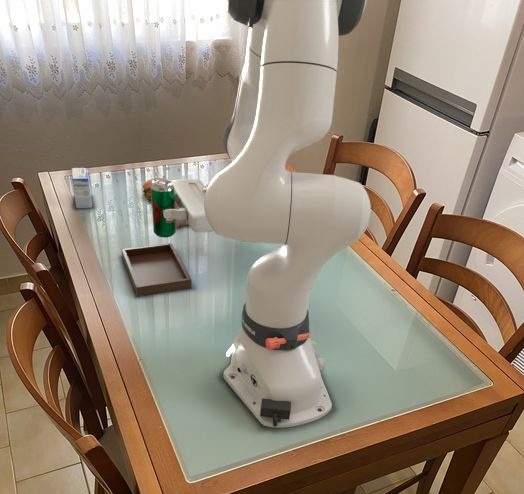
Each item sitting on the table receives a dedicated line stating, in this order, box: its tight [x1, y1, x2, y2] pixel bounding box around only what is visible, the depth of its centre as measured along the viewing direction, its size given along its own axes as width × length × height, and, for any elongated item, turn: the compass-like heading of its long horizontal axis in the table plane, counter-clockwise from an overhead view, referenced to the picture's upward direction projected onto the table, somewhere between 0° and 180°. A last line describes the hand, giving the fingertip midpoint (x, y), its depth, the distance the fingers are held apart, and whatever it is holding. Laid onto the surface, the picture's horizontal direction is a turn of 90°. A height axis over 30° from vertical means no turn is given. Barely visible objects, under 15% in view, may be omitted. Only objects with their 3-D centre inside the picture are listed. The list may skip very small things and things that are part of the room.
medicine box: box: [70, 167, 93, 209], centre depth 150 cm, size 8×4×9 cm, turn 17°
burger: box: [142, 177, 165, 202], centre depth 158 cm, size 10×9×5 cm
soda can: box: [151, 178, 177, 239], centre depth 118 cm, size 5×5×12 cm
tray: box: [121, 242, 192, 297], centre depth 127 cm, size 18×13×2 cm
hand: (159, 207), depth 117 cm, fingers closed on soda can, 5 cm apart
